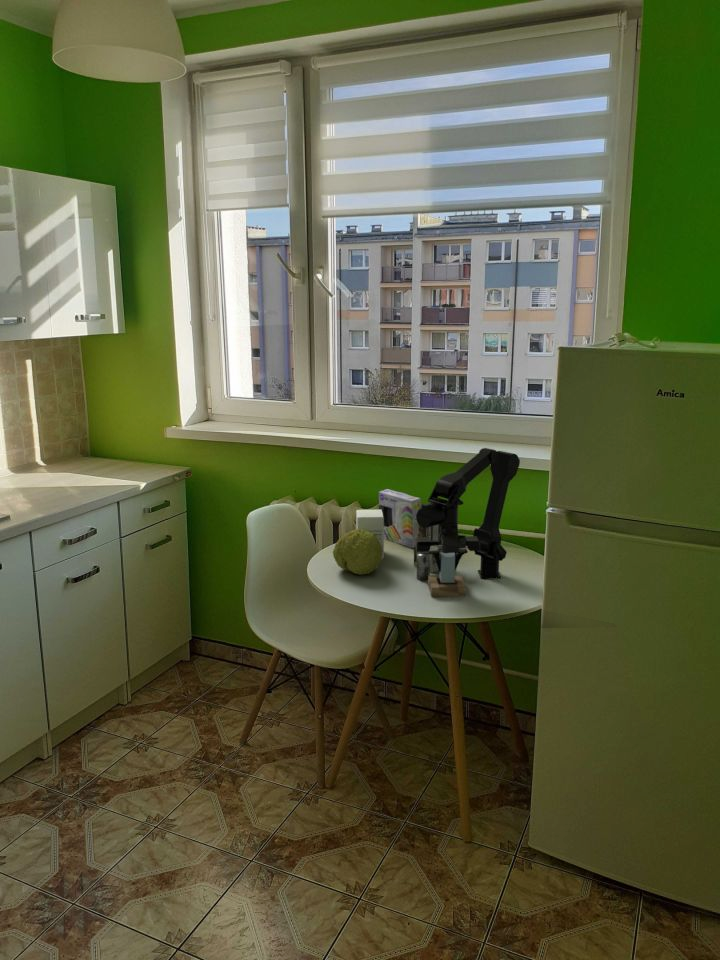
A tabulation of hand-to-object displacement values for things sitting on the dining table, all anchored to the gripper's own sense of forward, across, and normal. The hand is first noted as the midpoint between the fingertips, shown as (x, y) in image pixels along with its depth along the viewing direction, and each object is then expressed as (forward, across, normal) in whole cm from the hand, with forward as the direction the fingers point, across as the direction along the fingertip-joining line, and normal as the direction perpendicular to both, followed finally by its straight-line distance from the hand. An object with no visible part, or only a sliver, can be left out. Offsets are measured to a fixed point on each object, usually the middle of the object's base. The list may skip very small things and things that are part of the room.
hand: (447, 571), depth 230 cm
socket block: (+6, 0, 0) cm, 6 cm away
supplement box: (+6, -22, +32) cm, 39 cm away
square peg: (+3, 0, 0) cm, 3 cm away
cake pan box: (+6, -11, +46) cm, 48 cm away
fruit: (+6, -26, +17) cm, 32 cm away
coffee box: (+6, -3, +20) cm, 21 cm away
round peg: (+6, -6, +10) cm, 13 cm away
